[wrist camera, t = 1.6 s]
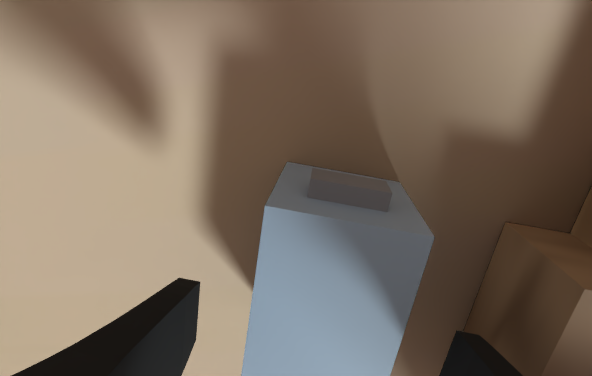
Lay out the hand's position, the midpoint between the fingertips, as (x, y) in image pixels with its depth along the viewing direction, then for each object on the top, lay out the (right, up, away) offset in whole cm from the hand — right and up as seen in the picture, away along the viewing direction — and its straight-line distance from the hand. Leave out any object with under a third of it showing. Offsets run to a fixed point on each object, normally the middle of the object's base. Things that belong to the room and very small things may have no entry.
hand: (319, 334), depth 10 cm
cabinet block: (+1, +1, +5) cm, 6 cm away
